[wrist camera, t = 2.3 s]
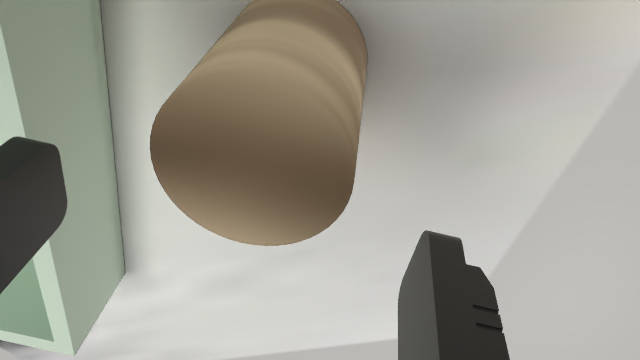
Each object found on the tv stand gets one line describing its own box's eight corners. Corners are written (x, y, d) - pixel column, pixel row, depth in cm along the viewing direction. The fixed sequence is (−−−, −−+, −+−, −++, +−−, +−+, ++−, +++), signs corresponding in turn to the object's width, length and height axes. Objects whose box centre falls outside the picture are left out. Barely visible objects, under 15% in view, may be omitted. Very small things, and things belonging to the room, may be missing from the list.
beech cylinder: (234, -29, 16) (146, 49, 10) (383, 5, 16) (377, 102, 10) (225, 105, 19) (153, 222, 13) (350, 133, 19) (331, 262, 13)
